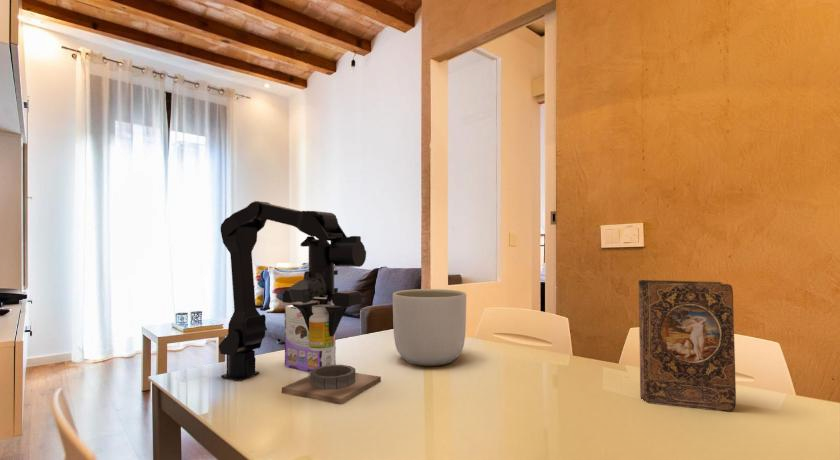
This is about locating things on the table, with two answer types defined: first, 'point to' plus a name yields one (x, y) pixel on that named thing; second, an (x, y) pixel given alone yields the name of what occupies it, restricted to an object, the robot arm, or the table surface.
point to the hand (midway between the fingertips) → (321, 335)
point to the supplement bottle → (319, 329)
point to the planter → (429, 325)
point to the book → (687, 344)
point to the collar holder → (332, 384)
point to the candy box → (303, 344)
